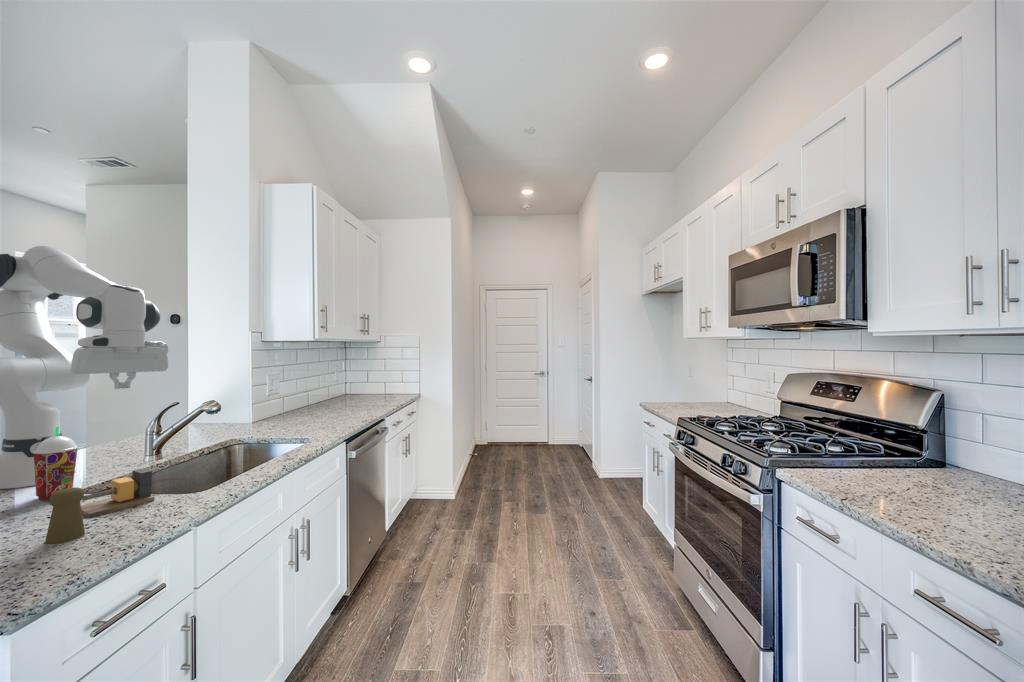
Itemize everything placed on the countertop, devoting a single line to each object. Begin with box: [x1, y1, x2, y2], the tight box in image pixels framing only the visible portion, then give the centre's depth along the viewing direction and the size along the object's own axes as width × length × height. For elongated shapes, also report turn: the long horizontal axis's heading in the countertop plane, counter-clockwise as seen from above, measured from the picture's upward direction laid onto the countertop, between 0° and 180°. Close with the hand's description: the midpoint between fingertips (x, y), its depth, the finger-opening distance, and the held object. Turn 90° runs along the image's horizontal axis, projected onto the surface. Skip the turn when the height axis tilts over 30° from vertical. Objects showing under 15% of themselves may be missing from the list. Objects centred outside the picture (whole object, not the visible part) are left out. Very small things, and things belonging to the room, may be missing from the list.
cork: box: [44, 487, 86, 546], centre depth 89 cm, size 6×6×11 cm
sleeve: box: [110, 476, 134, 502], centre depth 108 cm, size 5×3×5 cm, turn 63°
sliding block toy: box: [81, 467, 155, 518], centre depth 107 cm, size 9×13×8 cm
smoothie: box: [33, 426, 79, 502], centre depth 112 cm, size 8×8×20 cm
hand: (122, 388), depth 114 cm, fingers closed
